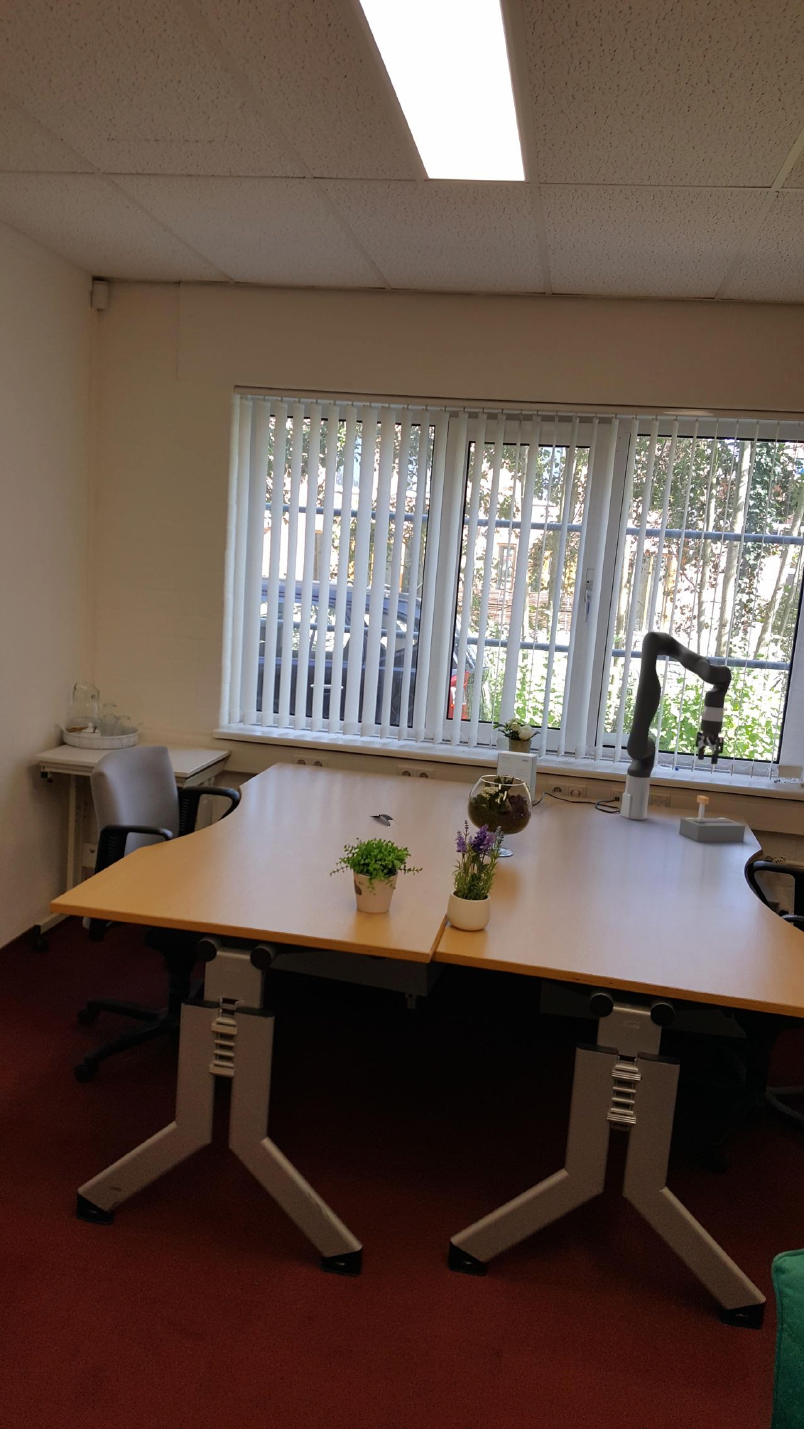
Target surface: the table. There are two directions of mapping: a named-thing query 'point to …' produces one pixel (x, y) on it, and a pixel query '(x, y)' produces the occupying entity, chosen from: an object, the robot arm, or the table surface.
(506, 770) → the hard drive box
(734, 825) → the switch box
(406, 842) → the table surface
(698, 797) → the breaker handle
